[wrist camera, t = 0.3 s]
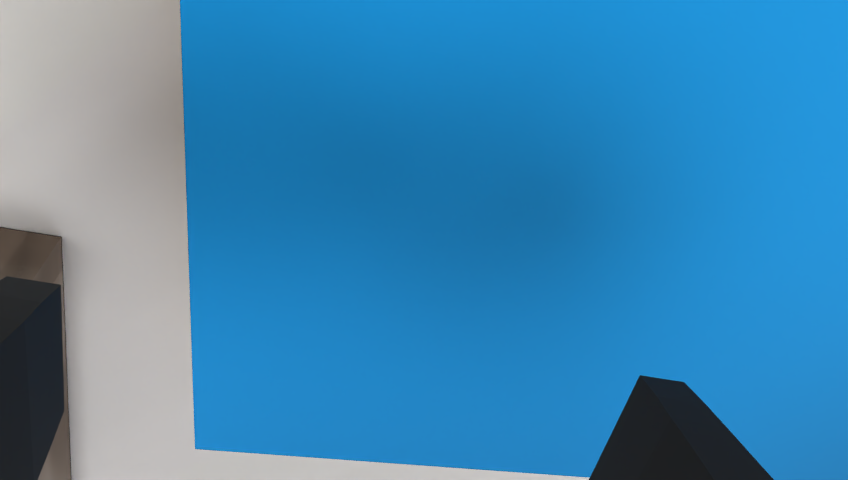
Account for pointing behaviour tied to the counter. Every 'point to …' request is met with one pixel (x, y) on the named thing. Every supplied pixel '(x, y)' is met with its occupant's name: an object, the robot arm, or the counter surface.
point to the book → (516, 226)
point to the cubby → (43, 262)
